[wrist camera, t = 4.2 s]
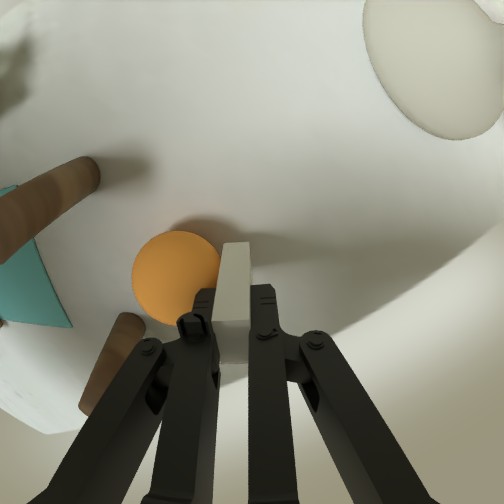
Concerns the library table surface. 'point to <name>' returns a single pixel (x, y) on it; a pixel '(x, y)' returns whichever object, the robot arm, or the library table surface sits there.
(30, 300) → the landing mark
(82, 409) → the post
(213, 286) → the ball
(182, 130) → the library table surface
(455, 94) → the flower in vase
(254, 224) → the library table surface
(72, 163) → the post
